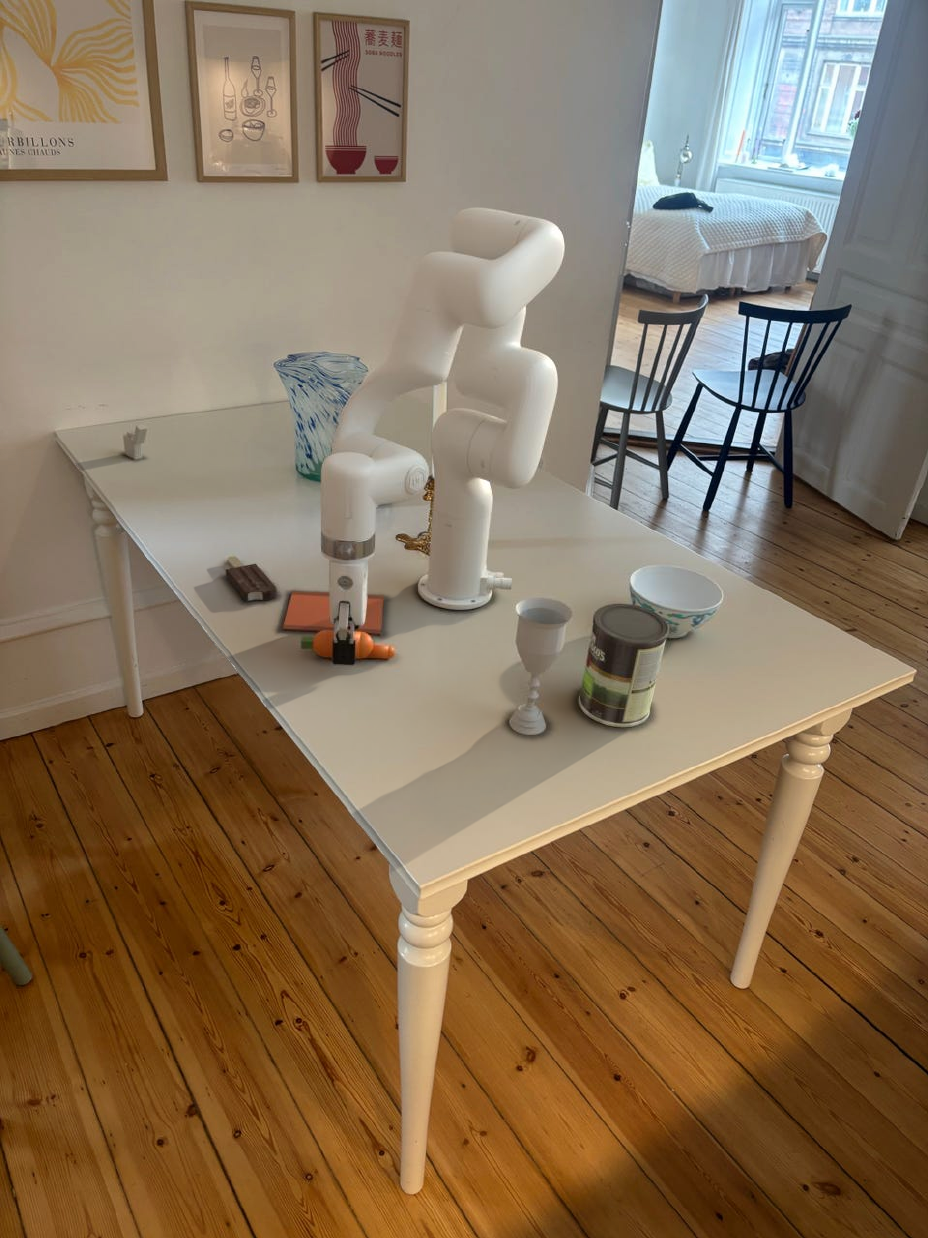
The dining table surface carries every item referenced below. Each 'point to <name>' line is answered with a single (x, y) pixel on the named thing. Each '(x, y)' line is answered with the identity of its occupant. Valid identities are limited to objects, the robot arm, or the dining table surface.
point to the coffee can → (622, 664)
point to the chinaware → (676, 596)
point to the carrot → (363, 645)
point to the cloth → (327, 613)
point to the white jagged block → (134, 442)
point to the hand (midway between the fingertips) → (346, 645)
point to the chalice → (537, 653)
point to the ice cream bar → (250, 581)
